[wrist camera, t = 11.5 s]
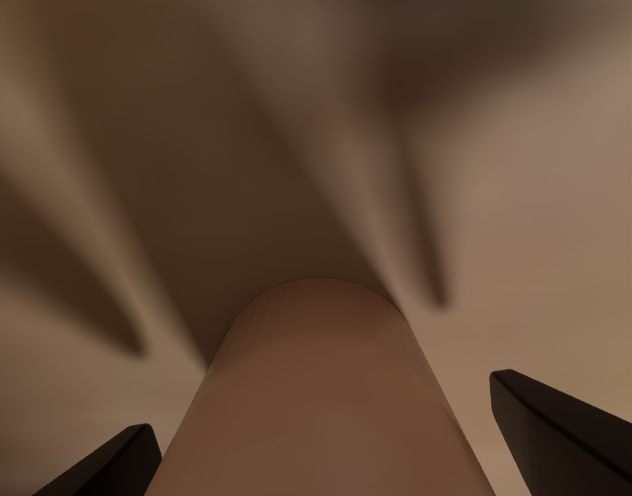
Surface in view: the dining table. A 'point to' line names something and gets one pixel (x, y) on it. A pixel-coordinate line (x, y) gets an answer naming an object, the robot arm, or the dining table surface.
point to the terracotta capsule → (319, 406)
